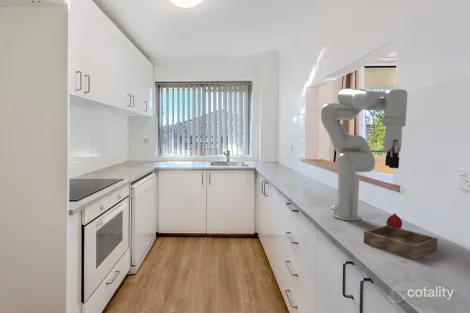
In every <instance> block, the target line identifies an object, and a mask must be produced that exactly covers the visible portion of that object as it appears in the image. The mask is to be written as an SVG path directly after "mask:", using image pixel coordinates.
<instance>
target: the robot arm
mask: <svg viewBox="0 0 470 313" xmlns="http://www.w3.org/2000/svg"><path fill="white" fill-rule="evenodd" d="M337 101H338V102H331V103H330V102H329V103H326V104H324V105H323V106H322V108H321V111H320V119H321V120H320V121H321V123H322V125H323V127H324V128H325V131H326V132H327V134H328V136H329V139H330V141H331V143H332V146H333V148H334V150H335V152H336V153H337V154H339V155H338V156H337V159H336V166H337V175H338V176H337V178H338V179H337V195H336V196H337V197H336V205H331V207H330V210H331V211H334V212H333V213H332V217H333V218H335V219H337V220H341V221H350V222H356V221H357V222H358V221H360V220H361V219H362V218H361V216H360V215H359V214H358V208H359V195H360V194H359V193H360V192H359V191H360V180H359V177H358V175H357V174H356V173H368V172H369V173H370V172H372V171H373V170H374V169H375V167H376V158H375V156H374V154H373V152H372V150H371V148H370V146H369V143H368V141H367V140H366V138H364V137H363V136H361V135H358V134H357V135H356V134H349V133H348V132H347V130H346V127H345V126H344V125H343V123H341V122H340V121H352V120H354V119H355V118H357V117H358V115H359V114H360V113H361V112H362V111H363V110H365V111H366V110H367V111H381V112H383V125H382V126H383V127H385V131H384V140H383V151H384V152H386V153H385V164H384V165H385V166H386V167H388V168H389V169H399V167H400V152H401V149H402V138H403V127H406V122H407V121H406V119H407V111H408V110H407V106H408V91H407V90H406V89H402V88H398V89H397V88H396V89H389V90H387V91H375V90H367V89H364V88H344V89H341V90H340V91H339V92H338V94H337Z"/></svg>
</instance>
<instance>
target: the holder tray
mask: <svg viewBox="0 0 470 313" xmlns="http://www.w3.org/2000/svg"><path fill="white" fill-rule="evenodd" d="M438 240H439V239H438V238H437V237H433V236H430V235H426V234H421V233H418V232H415V231H412V230H407V229H403V228H401V229H400V228H396V227H392V226H389V225H387V224H386V225H383V226H379V227H375V228H372V229H368V230H365V231H363V240H362V241H363V243H364V244H367V245H370V246H372V247H375V248H378V249H382V250H384V251H388V252H390V253H394V254H396V255H399V256H403V257H406V258H408V259H412V260H417V259H419V258H422V257H425V256H426V255H428V254H431V253H434V252H436V251H437V249H438Z"/></svg>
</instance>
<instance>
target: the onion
mask: <svg viewBox="0 0 470 313" xmlns="http://www.w3.org/2000/svg"><path fill="white" fill-rule="evenodd" d="M386 225H389V226H392V227H396V228H400V229H402V226H403V221H402V219H401V218H400V217H399V216H398V215H397V213H396V212H394V213H393V214H391V215H390V216H389V217H387V220H386Z"/></svg>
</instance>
